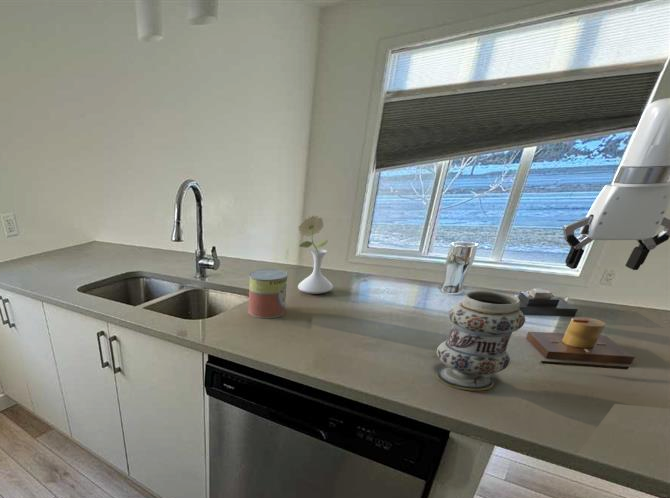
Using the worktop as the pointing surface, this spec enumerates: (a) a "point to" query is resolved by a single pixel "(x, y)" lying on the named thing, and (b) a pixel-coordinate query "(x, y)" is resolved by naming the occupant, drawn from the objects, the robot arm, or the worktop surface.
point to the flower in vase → (316, 280)
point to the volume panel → (579, 351)
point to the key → (540, 293)
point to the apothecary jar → (479, 339)
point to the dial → (583, 332)
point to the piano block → (545, 306)
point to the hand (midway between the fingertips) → (600, 267)
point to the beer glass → (458, 266)
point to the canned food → (267, 293)
